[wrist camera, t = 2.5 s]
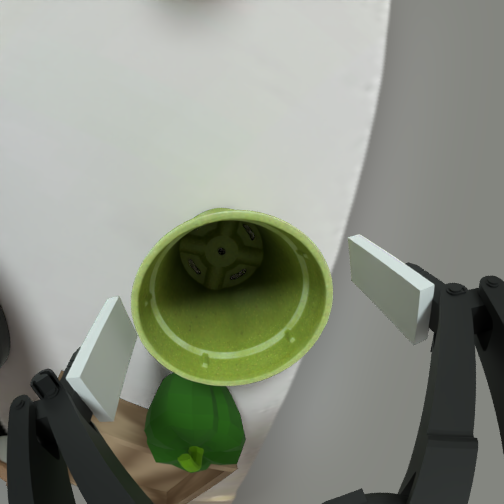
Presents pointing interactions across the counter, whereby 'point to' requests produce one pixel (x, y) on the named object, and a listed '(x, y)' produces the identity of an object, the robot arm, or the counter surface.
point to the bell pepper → (193, 425)
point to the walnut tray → (152, 459)
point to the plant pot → (231, 298)
